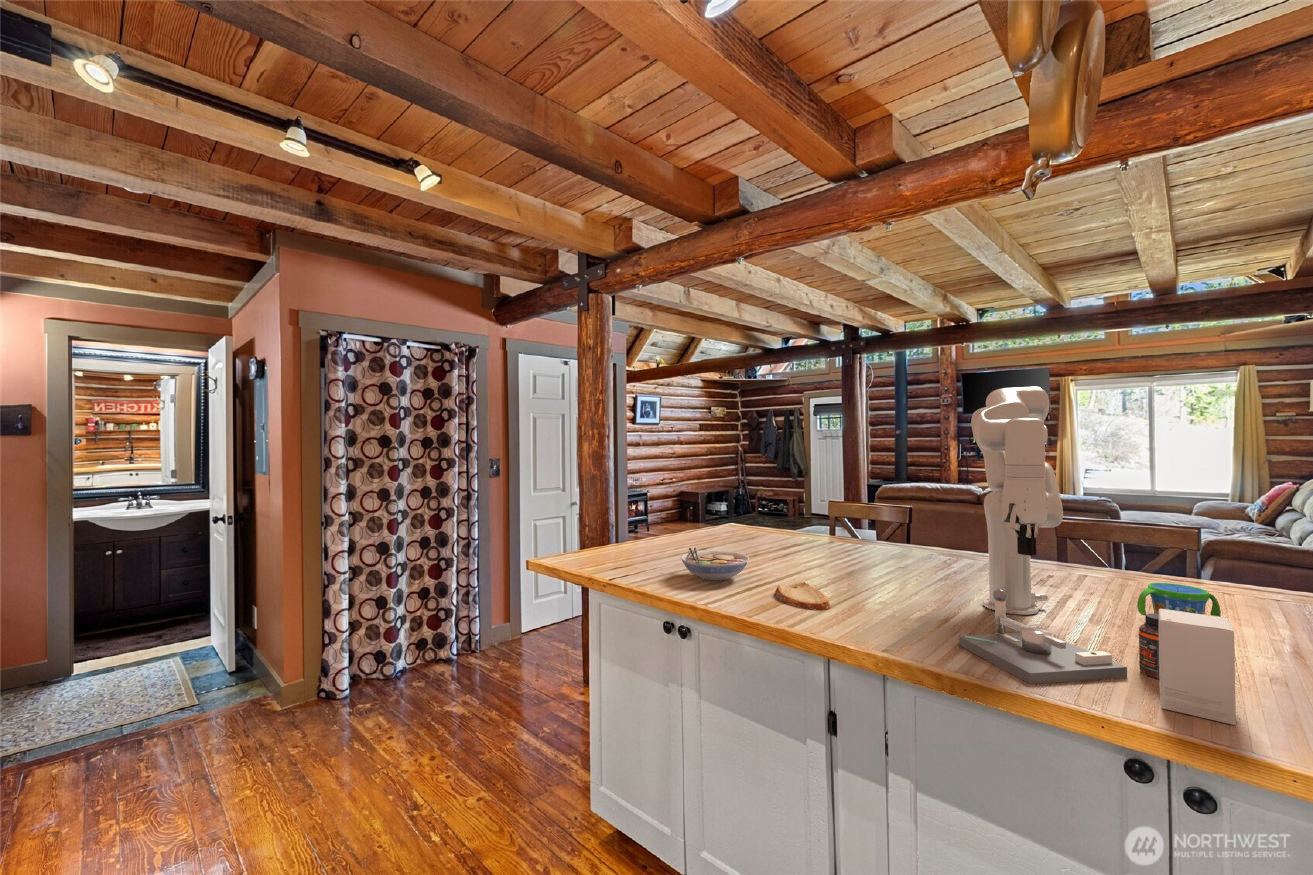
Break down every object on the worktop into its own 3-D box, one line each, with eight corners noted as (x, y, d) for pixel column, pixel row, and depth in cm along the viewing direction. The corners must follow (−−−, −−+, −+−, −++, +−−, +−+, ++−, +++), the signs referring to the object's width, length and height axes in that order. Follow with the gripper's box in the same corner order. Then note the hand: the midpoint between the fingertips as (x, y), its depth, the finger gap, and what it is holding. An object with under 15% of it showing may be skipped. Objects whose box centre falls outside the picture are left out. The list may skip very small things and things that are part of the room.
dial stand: (1041, 640, 124) (1041, 623, 124) (1127, 677, 104) (1126, 656, 105) (959, 645, 122) (958, 627, 122) (1030, 684, 102) (1030, 662, 102)
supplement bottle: (1131, 669, 108) (1129, 611, 108) (1158, 668, 109) (1157, 610, 109) (1161, 683, 102) (1160, 621, 102) (1190, 681, 103) (1189, 620, 103)
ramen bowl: (755, 588, 171) (755, 562, 171) (682, 589, 172) (681, 562, 172) (744, 570, 196) (743, 547, 196) (679, 570, 197) (679, 547, 197)
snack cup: (1205, 627, 132) (1204, 584, 132) (1236, 642, 122) (1235, 596, 122) (1126, 621, 137) (1125, 580, 137) (1150, 635, 127) (1149, 591, 127)
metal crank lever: (1075, 660, 107) (1074, 610, 107) (1051, 661, 107) (1050, 611, 107) (1006, 629, 125) (1005, 587, 125) (985, 630, 124) (985, 588, 124)
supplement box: (1238, 727, 86) (1235, 630, 86) (1160, 709, 92) (1158, 619, 92) (1231, 706, 93) (1229, 617, 93) (1159, 690, 99) (1157, 607, 99)
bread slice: (828, 613, 147) (828, 599, 147) (763, 604, 156) (763, 590, 156) (842, 596, 163) (842, 584, 163) (782, 589, 172) (782, 577, 172)
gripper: (1027, 471, 131) (1029, 549, 131) (988, 473, 125) (989, 554, 124) (1062, 472, 125) (1064, 554, 124) (1022, 474, 118) (1024, 560, 118)
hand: (1026, 554), depth 124 cm, fingers closed
